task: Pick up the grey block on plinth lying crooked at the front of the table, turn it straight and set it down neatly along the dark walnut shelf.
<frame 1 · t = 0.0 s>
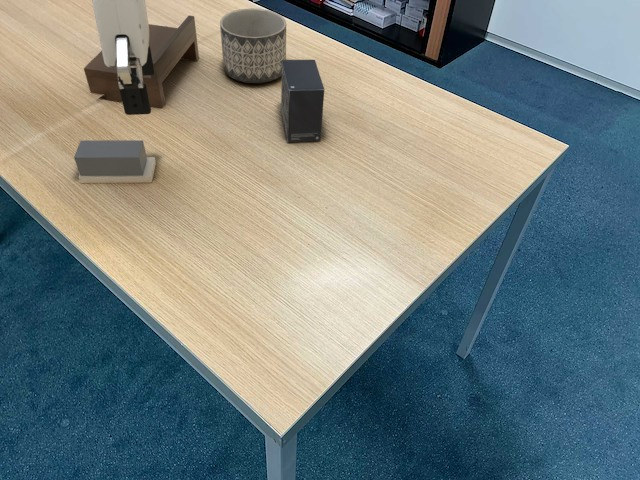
hand: (140, 93, 73), 17 cm above the table, tool pointing down, fingers open, 9 cm apart
grey block on plinth: (119, 172, 88), on the table
shelf: (148, 76, 109), on the table
planter: (255, 72, 112), on the table
small box: (300, 126, 100), on the table
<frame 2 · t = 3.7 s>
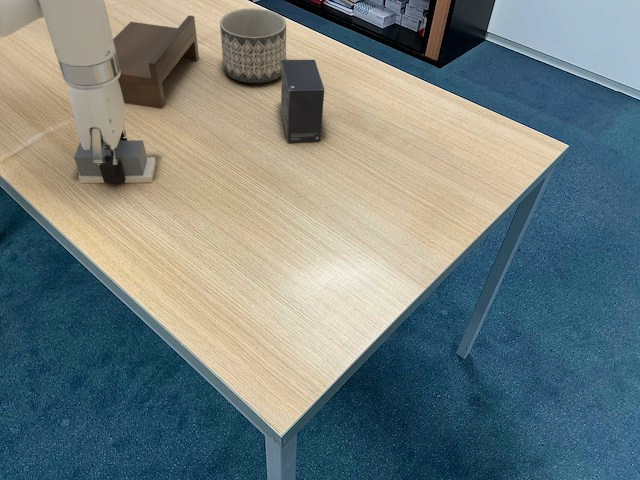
hand: (118, 169, 87), 1 cm above the table, tool pointing down, fingers closed on grey block on plinth, 5 cm apart
grey block on plinth: (119, 172, 88), on the table, touching gripper
everything else where it was.
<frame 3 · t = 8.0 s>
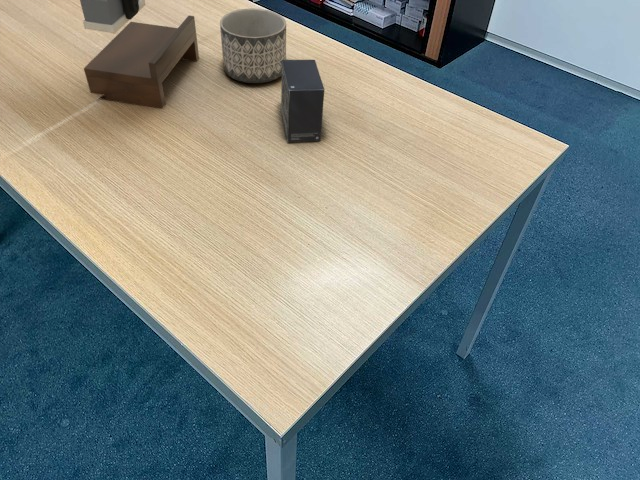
hand: (115, 12, 87), 18 cm above the table, tool pointing down, fingers closed on grey block on plinth, 5 cm apart
grey block on plinth: (116, 16, 87), point 18 cm above the table, touching gripper
everything else where it was.
when the fingers open (7 cm above the table, at t = 12.3 s): grey block on plinth stays where it is, resting on shelf.
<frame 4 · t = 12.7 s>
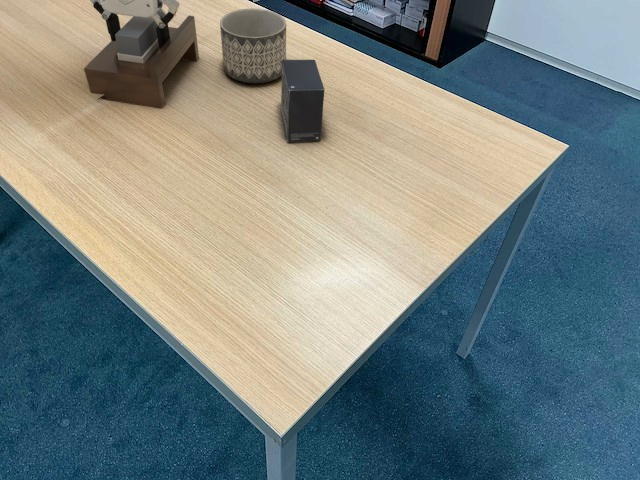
hand: (140, 41, 103), 7 cm above the table, tool pointing down, fingers open, 9 cm apart
grey block on plinth: (143, 48, 104), point 6 cm above the table, touching shelf
everything else where it was.
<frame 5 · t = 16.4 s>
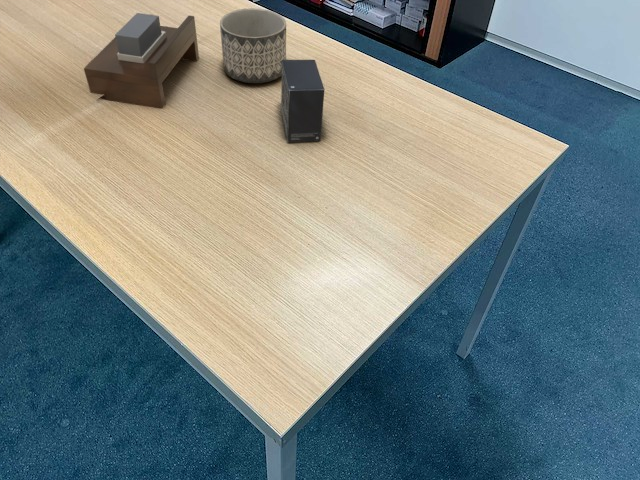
nothing on the table moved.
at the end: grey block on plinth inside the target area on the shelf (0.0 cm from its centre), point 6.0 cm above the shelf's base; grey block on plinth tilted 0°; the gripper is holding nothing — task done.
